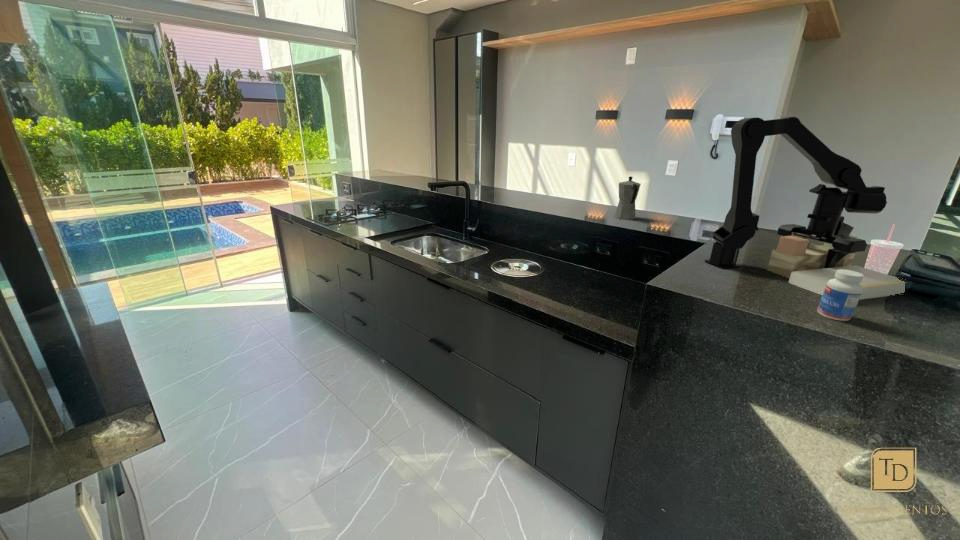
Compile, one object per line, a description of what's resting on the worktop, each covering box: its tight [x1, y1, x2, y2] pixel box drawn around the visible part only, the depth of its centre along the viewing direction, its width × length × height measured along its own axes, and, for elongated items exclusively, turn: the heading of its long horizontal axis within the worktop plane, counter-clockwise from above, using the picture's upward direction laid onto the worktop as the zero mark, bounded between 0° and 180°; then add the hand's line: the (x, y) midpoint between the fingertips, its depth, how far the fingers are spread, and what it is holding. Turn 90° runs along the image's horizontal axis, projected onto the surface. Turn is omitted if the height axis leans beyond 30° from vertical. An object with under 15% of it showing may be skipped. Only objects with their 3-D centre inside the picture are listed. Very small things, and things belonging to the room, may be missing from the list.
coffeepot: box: [614, 176, 641, 221], centre depth 163 cm, size 15×9×18 cm, turn 178°
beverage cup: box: [863, 223, 905, 275], centre depth 100 cm, size 6×6×14 cm
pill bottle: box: [816, 269, 864, 322], centre depth 77 cm, size 6×5×10 cm
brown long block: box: [766, 244, 856, 279], centre depth 103 cm, size 21×6×6 cm, turn 104°
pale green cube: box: [822, 234, 858, 249], centre depth 103 cm, size 4×4×4 cm
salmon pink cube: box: [776, 235, 810, 256], centre depth 99 cm, size 4×4×4 cm
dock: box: [787, 264, 906, 301], centre depth 92 cm, size 22×12×3 cm, turn 104°
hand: (808, 267), depth 104 cm, fingers open, 8 cm apart
